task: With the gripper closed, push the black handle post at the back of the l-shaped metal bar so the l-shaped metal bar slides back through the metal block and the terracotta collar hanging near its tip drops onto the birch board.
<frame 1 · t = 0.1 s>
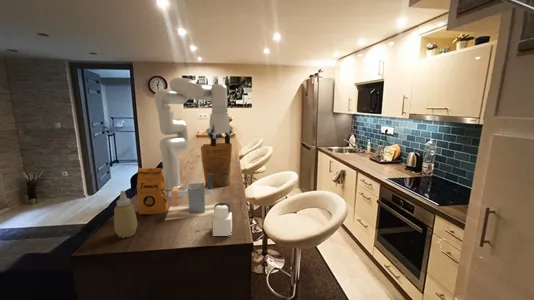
hand: (220, 144, 123), 31 cm above the countertop, tool pointing down, fingers open, 9 cm apart
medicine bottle: (222, 232, 99), on the countertop
squeeze bottle: (127, 235, 97), on the countertop
l-shaped metal bar: (191, 184, 116), point 14 cm above the countertop, slide at 0.0 cm, touching collar
coffee package: (154, 212, 118), on the countertop
metal block: (197, 209, 119), resting on board
board: (194, 211, 118), on the countertop
pancake mix bag: (217, 186, 158), on the countertop
collar: (176, 203, 116), point 5 cm above the countertop, touching l-shaped metal bar
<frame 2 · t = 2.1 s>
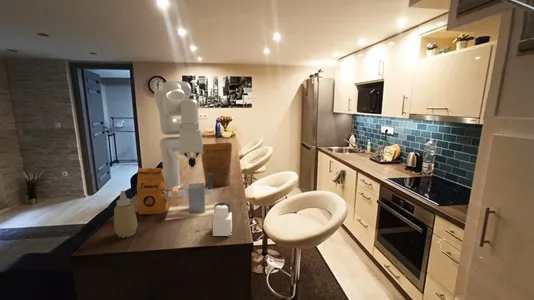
hand: (192, 166, 114), 23 cm above the countertop, tool pointing down, fingers closed
nothing on the countertop moved.
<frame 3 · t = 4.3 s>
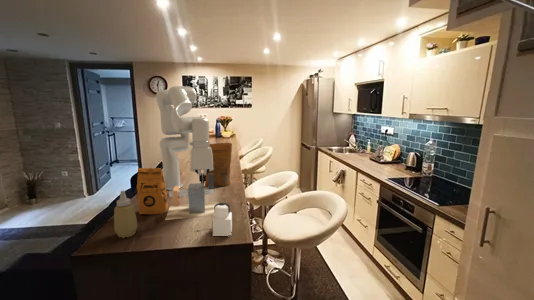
hand: (202, 182, 117), 14 cm above the countertop, tool pointing down, fingers closed
l-shaped metal bar: (191, 184, 116), point 14 cm above the countertop, slide at 0.4 cm, touching collar, gripper
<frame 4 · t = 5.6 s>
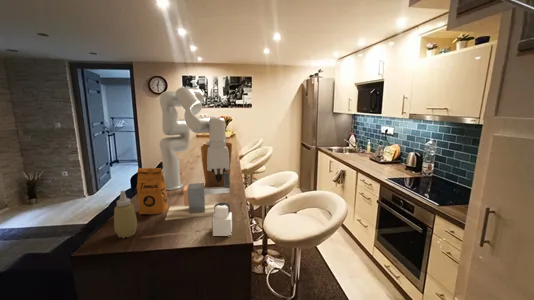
hand: (218, 181, 119), 14 cm above the countertop, tool pointing down, fingers closed
l-shaped metal bar: (208, 183, 118), point 14 cm above the countertop, slide at 7.9 cm, touching collar, gripper
collar: (187, 202, 117), point 5 cm above the countertop, touching l-shaped metal bar
everything else where it was.
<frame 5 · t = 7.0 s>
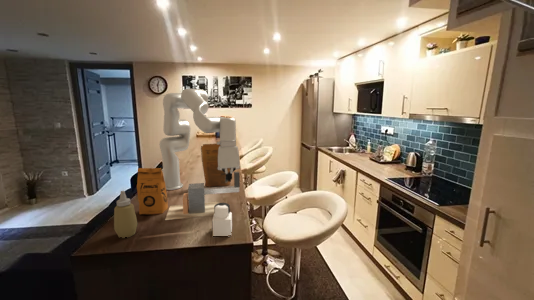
hand: (229, 180, 120), 14 cm above the countertop, tool pointing down, fingers closed
l-shaped metal bar: (218, 183, 119), point 14 cm above the countertop, slide at 12.8 cm, touching gripper
collar: (186, 210, 117), point 1 cm above the countertop, touching board
everything else where it was.
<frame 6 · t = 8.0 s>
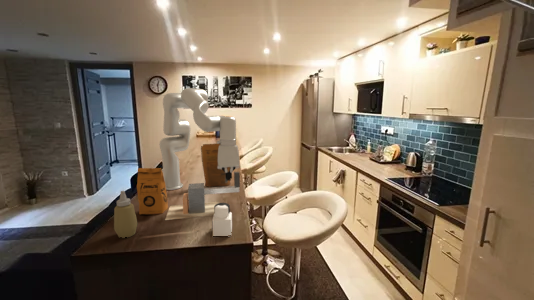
hand: (228, 179, 120), 15 cm above the countertop, tool pointing down, fingers closed
l-shaped metal bar: (218, 183, 119), point 14 cm above the countertop, slide at 12.8 cm
everything else where it was.
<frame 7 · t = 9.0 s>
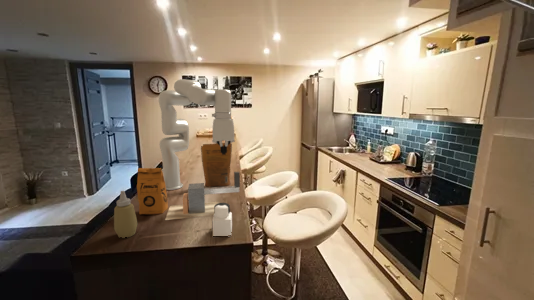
hand: (223, 154, 119), 27 cm above the countertop, tool pointing down, fingers closed
nothing on the countertop moved.
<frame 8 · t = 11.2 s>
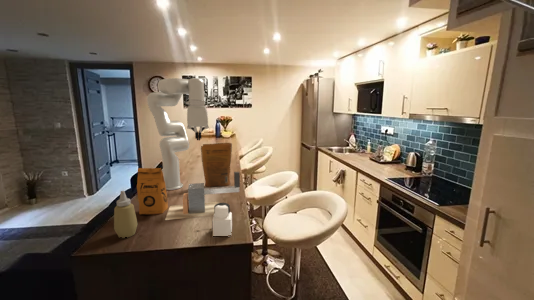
hand: (198, 140, 127), 33 cm above the countertop, tool pointing down, fingers closed
nothing on the countertop moved.
at the end: l-shaped metal bar slide at 12.8 cm; collar inside the target area (0.8 cm from its centre), point 1.0 cm above the countertop; collar touching board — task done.
